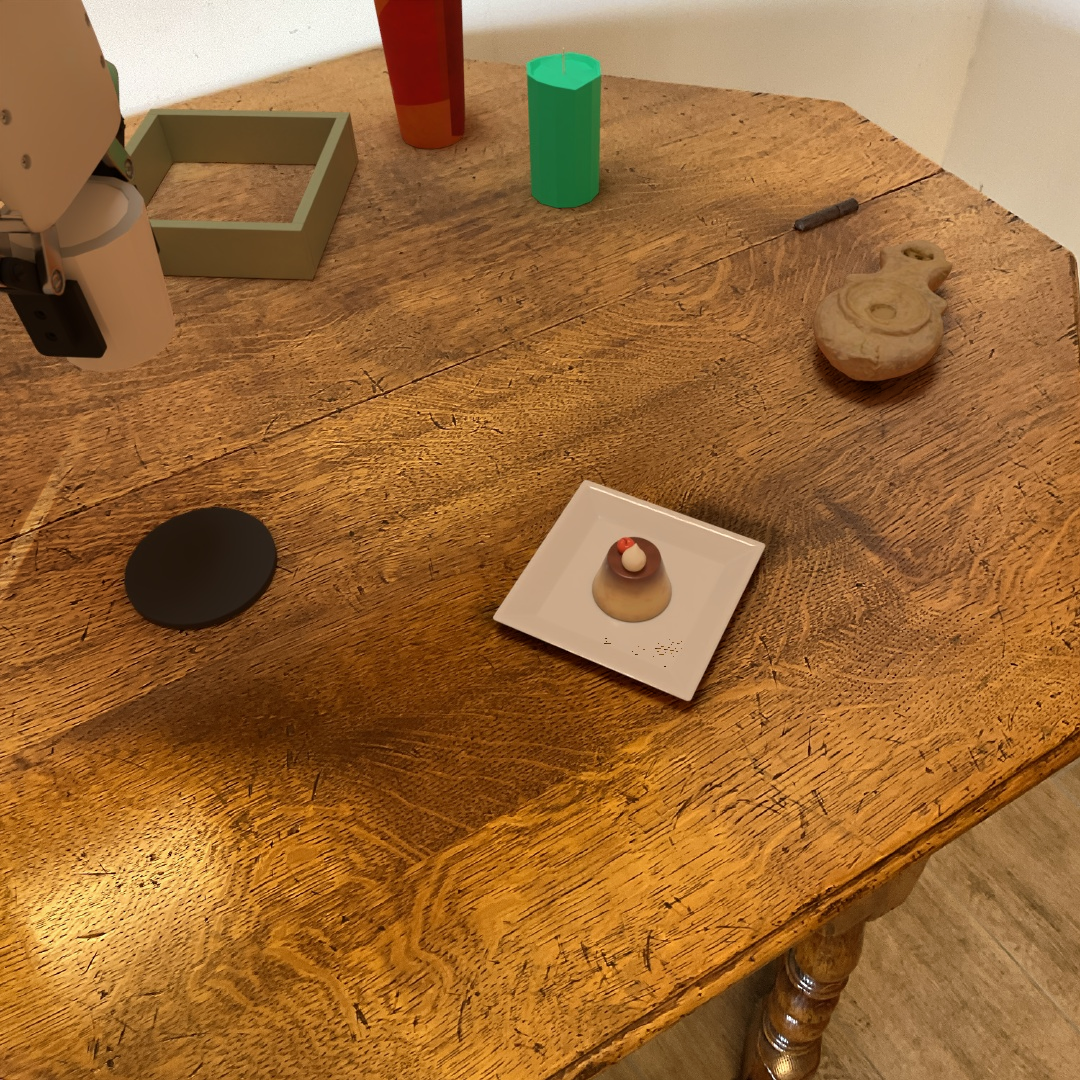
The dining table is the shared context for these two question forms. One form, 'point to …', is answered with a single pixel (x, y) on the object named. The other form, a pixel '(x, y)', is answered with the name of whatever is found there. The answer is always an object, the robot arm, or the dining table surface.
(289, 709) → the dining table surface
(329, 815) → the dining table surface
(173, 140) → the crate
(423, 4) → the coffee cup
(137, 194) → the beige tapered cylinder
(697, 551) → the dessert
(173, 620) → the coaster
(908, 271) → the oil lamp
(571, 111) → the candle
